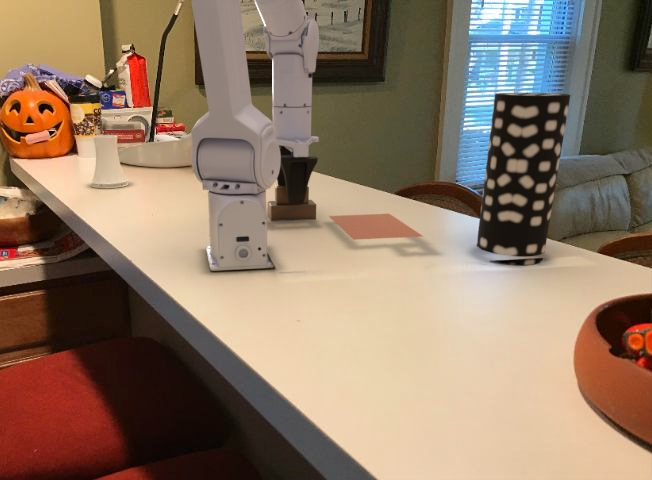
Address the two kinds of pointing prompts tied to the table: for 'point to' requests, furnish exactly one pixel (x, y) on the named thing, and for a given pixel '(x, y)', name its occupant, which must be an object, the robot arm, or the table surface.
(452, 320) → the table surface
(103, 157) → the vase
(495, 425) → the table surface
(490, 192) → the white-spotted black cylinder
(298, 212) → the brown stepped wooden block
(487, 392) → the table surface
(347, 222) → the tile
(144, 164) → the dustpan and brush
